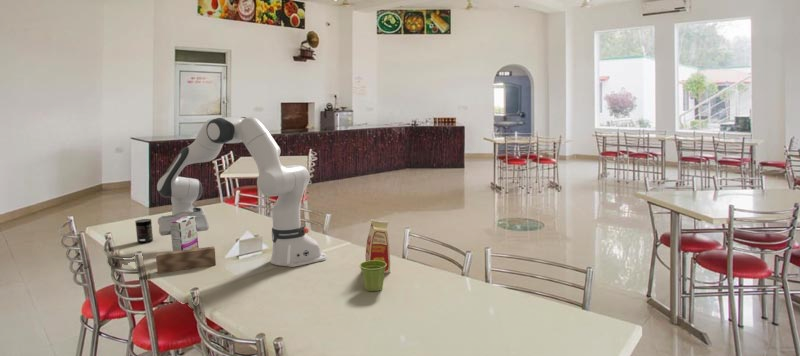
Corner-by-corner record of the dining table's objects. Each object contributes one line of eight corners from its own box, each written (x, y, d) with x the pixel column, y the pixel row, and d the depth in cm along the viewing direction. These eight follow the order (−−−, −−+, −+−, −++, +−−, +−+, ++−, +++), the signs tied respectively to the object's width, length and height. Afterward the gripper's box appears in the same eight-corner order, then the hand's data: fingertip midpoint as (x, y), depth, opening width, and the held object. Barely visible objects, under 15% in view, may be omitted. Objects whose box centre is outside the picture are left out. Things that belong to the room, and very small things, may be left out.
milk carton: (369, 274, 180) (368, 222, 177) (364, 267, 189) (363, 217, 186) (393, 272, 182) (392, 221, 179) (387, 264, 191) (386, 215, 188)
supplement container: (155, 239, 231) (153, 218, 230) (151, 243, 225) (149, 221, 223) (139, 240, 230) (137, 219, 228) (135, 244, 223) (133, 222, 222)
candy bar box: (189, 251, 211) (186, 215, 208) (199, 252, 210) (196, 215, 207) (172, 260, 200) (169, 221, 197) (183, 260, 199) (179, 222, 196)
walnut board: (215, 262, 195) (214, 246, 194) (215, 265, 193) (214, 248, 192) (157, 270, 187) (156, 253, 185) (157, 273, 184) (155, 255, 183)
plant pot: (354, 289, 166) (353, 265, 164) (372, 281, 173) (371, 258, 172) (374, 295, 160) (374, 270, 159) (392, 287, 167) (392, 263, 166)
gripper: (156, 212, 211) (158, 239, 204) (206, 207, 219) (209, 233, 212) (158, 220, 215) (159, 247, 208) (206, 215, 224) (209, 241, 217)
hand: (185, 240), depth 210 cm, fingers closed
